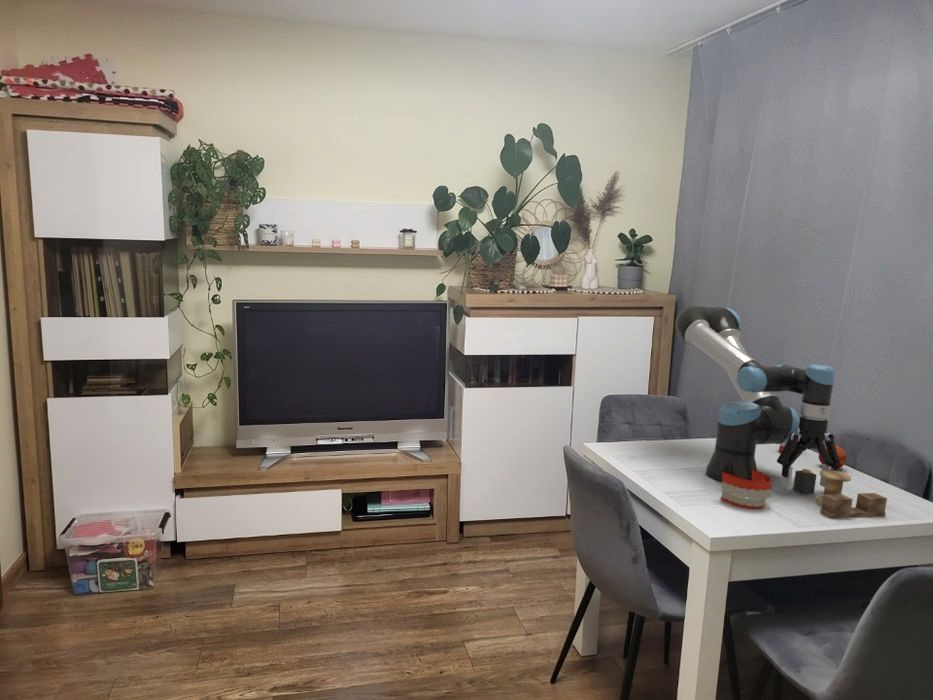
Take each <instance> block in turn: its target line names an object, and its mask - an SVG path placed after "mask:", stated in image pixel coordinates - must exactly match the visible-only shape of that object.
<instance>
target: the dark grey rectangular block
mask: <svg viewBox="0 0 933 700" xmlns="http://www.w3.org/2000/svg"><path fill="white" fill-rule="evenodd" d="M794 474H795V475H794V479H793V488H792V490H793V491H795V492H797V493H799V494H801V495H814V493H815V487H816V480H817V474H816V473H814V472H812V471H811V469H807V468H802V469H801V470H795V473H794Z"/></svg>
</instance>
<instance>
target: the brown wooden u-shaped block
mask: <svg viewBox="0 0 933 700" xmlns="http://www.w3.org/2000/svg"><path fill="white" fill-rule="evenodd" d="M822 496H823V502H822V505H821V508H820V511H819V513H820V514H821V515H824V516H826V517H828V518H829V519H846V518H847V519H850V518H852V519H853V518H868V517H869V518H871V517H873V518H874V516H876V517H886V507H887V502H888V498H887V497H886V496H883V495H881V494H879V493H877V492H872V493H871V492H868V493H867V492H866V493H857V497H856V503H855V507H853V501H854V500H853V498H851V497H849V496H846V495H844V494H842V493H841V494H829V495H824V494H823V495H822Z"/></svg>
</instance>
